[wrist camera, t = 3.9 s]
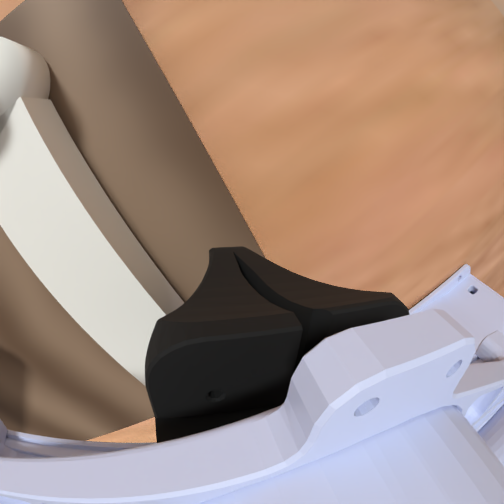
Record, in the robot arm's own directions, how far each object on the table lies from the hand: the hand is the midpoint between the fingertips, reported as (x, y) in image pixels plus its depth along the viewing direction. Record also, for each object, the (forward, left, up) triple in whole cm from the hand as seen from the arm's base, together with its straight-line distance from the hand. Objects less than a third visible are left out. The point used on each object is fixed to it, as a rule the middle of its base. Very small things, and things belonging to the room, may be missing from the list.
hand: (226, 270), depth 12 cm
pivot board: (+11, -4, -2) cm, 12 cm away
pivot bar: (+4, -4, -1) cm, 5 cm away
